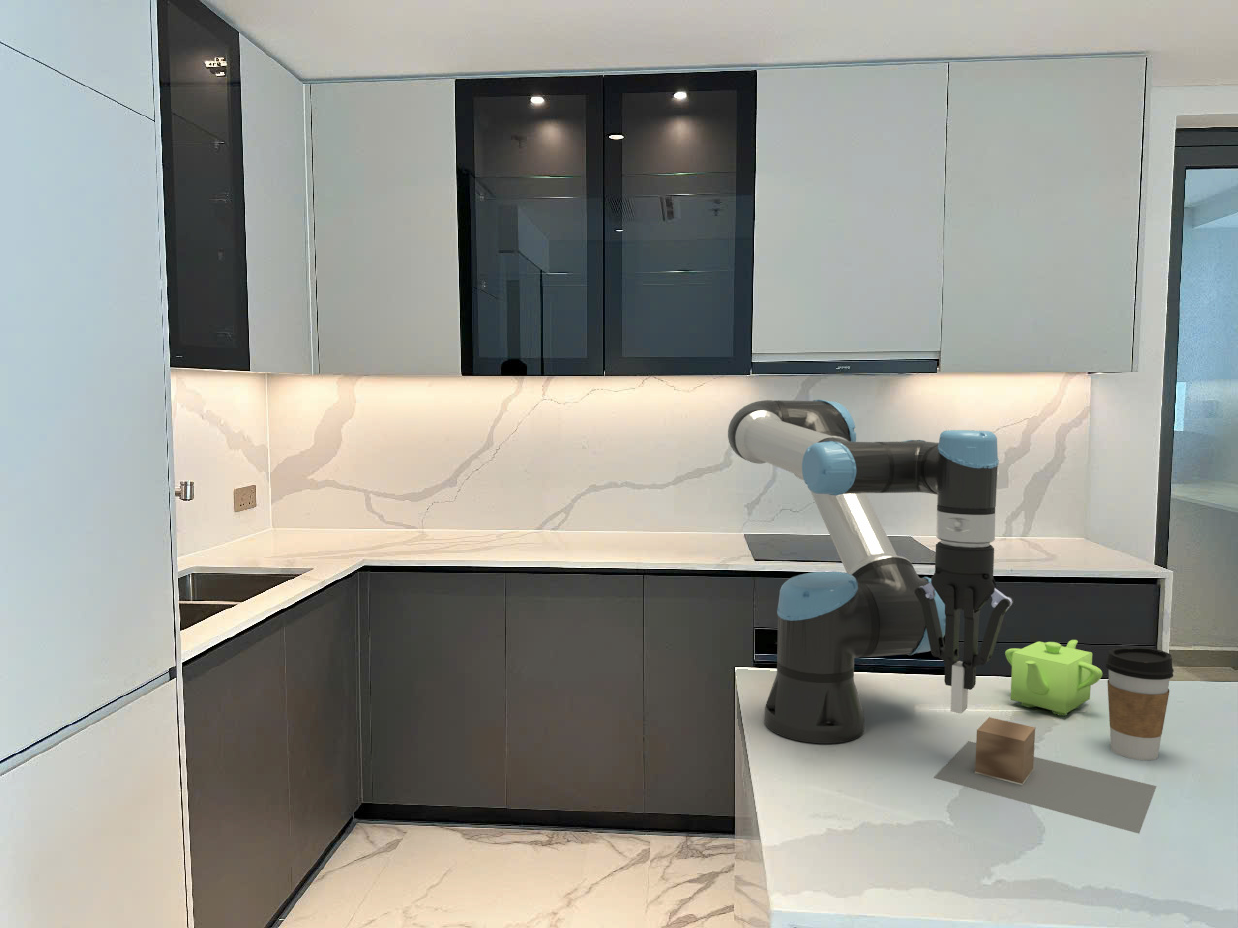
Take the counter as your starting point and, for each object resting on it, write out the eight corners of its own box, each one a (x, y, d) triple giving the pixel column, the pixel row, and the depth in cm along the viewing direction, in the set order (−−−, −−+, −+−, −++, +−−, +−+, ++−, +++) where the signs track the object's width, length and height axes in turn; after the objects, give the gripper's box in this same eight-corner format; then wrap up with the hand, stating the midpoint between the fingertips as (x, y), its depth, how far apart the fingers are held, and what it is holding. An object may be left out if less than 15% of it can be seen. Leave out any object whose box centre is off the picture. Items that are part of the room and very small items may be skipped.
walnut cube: (974, 773, 120) (976, 729, 119) (987, 758, 125) (989, 717, 124) (1022, 785, 116) (1024, 740, 116) (1033, 770, 121) (1035, 727, 120)
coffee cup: (1178, 768, 123) (1185, 662, 121) (1112, 763, 124) (1117, 658, 123) (1154, 744, 131) (1160, 645, 130) (1092, 739, 133) (1098, 642, 131)
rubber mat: (933, 779, 118) (933, 777, 118) (968, 742, 131) (968, 740, 131) (1139, 835, 104) (1139, 833, 104) (1156, 788, 116) (1156, 785, 116)
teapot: (1073, 692, 154) (1076, 632, 153) (1118, 720, 141) (1122, 655, 140) (986, 691, 154) (989, 631, 153) (1024, 720, 140) (1027, 655, 139)
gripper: (908, 540, 123) (903, 706, 124) (1007, 551, 115) (1001, 728, 116) (926, 534, 129) (921, 693, 130) (1022, 543, 121) (1015, 712, 122)
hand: (958, 709), depth 123 cm, fingers closed
